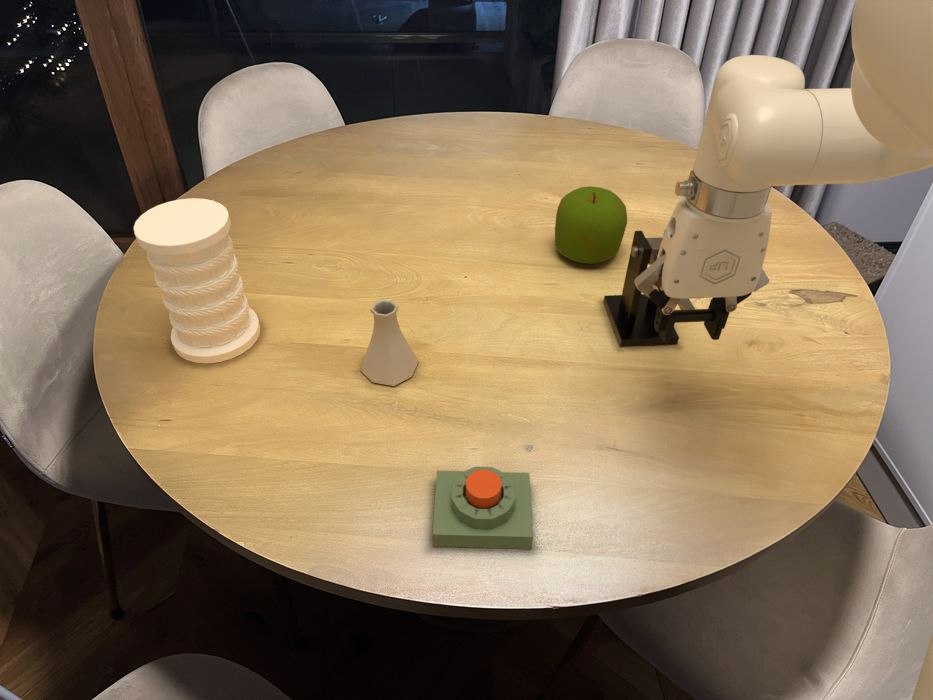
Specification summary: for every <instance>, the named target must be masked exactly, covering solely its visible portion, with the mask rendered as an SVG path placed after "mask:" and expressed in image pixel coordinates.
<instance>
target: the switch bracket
mask: <svg viewBox="0 0 933 700" xmlns="http://www.w3.org/2000/svg"><path fill="white" fill-rule="evenodd" d="M664 233H665V230H664V231H663V236H664ZM663 236H662V237H663ZM646 238H647V237H646V236H645V234H644V231H643V230H634V233H633V238H632V243H631V247H630V251H629V252H630V253H629V257H628V263H627V267H626V272H625V278H624V282H623V287H622V291H621V294H613V295H611V294H610V295H609V294H608V295H604V296H603V304H604V308H605V310H606V313H607V316H608V319H609V321H610V324H611V326H612V329H613V332H614V334H615V337H616V339H617V342H618V346H619V347H644V346H665V345H666V346H667V345H677V344H678V343H679V339H680V337H679V334H678V333H677V330H676V328H675V327H674V328H673V332H672V335H671V339H670V341H669V342H663V341H662V338H661V336H660V334H659V332H656V330H655V328H654V320H655V316H656V312H657V308H658V306H657V305H656V304H655V303H654V302H653V301H651V299H650V298H649V297H648V296H646V295H644V294H643V293H642V292H640V291H639V290H638V289H637V287H636V285H635V282H634V280H635V279H636V278H637V277H638V276H639V275H640V274H641V273H642V272H644V271H645V270H646V269H647V268H648V267H649V266H648V265H649V264H648V262H649V258H650V253H651V247H650V245H649V243H648V241H647V239H646ZM654 284H655V285H656V286H657V287H658V288H659V289H660V288H661V286H662V277H660V278H659V279H658V280H657V281H656V282H655V283H654Z"/></svg>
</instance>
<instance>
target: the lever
mask: <svg viewBox="0 0 933 700" xmlns="http://www.w3.org/2000/svg"><path fill="white" fill-rule="evenodd" d="M645 238H646V239H647V241H648V243H649V245H650V247H651V253H650V258H649V262H648V265H649V266H650V265H652V264H653V263H654V262H655V261H656V260H657V256H658V252H659V249H660V245H661V242H662V239H663V236H662V237H661V236H660V237H645ZM677 306H678V307H679V309H674V312H675V314H676V321H675V324H679V323H681V324H682V323H701V322H702V323H704V322H706V321H714V319H715V311H714V309H708V308H695V306H694V304H693V303H692V301H691V299H681V300H680V301H679V303H678V304H677Z"/></svg>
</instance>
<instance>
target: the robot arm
mask: <svg viewBox="0 0 933 700" xmlns="http://www.w3.org/2000/svg"><path fill="white" fill-rule="evenodd" d="M850 30H851V48H852V52H853V55H854V62H853V65H852V69H851V75H850V87H849V88H845V87H844V88H843V87H841V88H840V87H839V88H838V87H837V88H836V87H835V88H805V84H806V80H805V78H806V77H805V75H804V72H803V71H802V69H800V67H799V66H798V65H796V64H795V63H793V62H792V61H791V62H790V61H789V60H786V59H783V58H780V57H776V56H770V55H763V54H747V55H739V56H735V57H732V58H731V59H728V60H726V61H725V62H724V63H723V64H722V65H721V66H720V67H719V69H718V71H717V73H716V76H715V78H714V82H713V85H712V89H711V94H710V98H709V103H708V106H707V109H706V113H705V118H704V121H703V122H704V123H703V126H702V130H701V135H700V138H699V142H698V147H697V151H696V154H695V155H696V156H695V159H694V162H693V167H692V170H690V172H689V175H688V179H687V180H684V181H677V182H676V183H675V188H674V193H675V195H676V196H677V197H680V198H679V200H678V202H677V203H676V205H675V207H674V208H673V211H672V213H671V215H670V218H669V220H668V222H667V225H666V228H665V229H664V231H665V233H664V232H663V235H664V236H662V238H663V239H662V242H661V245H660V249H659V252H658V256H657V260H656V261H655V262H654V263H653V264H652V265H649V266H647V269H646V270H645V271H644V272H642V273H641V274H640V275H639V276H638V277H637V278H636V279H635V280H634V282H635V285H636V287H637V289H638V290H639V291H640V292H642V293H641V294H644V295H646V296H648V297H649V298H650V299H651V301H653V302H654V303H655V304H656V305H657V306H658V308H657V312H656V316H655V320H654V328H655V330H656V332H659V334H660V336H661V338H662V341H663V342H669V341H670V339H671V335H672V332H673V328H675V324H676V323H675V321H676V314H675V312H674V310H676V308H677V306H678V303H679V301H680V300H681V299H690V300H691V299H710V301H709V305H708V308H707V309H714V311H715V319H714V321H706V322H703V326H704V327H705V330H706V331H707V333H708V335H709V337H710V339H711V340H713V341H719V340H720V337H721V334H722V332H723V330H724V329H725V328H726V325H727V322H728V319H729V316H730V313H733V312H735V311H736V310H737V308H738V305H739V304H741V303H743V301H745V300H746V299H748V298H749V297H750V296H752V293H753V292H754V293H755V292H757V291H759V290H760V289H762V288H764V287H765V286H767V285H768V284H769V283H770V278H769V277H768V275H767V274H766V272H765V270H764V269H763V267H764V263H765V258H766V254H767V250H768V245H769V240H770V233H771V225H772V215H773V214H772V212H773V211H772V208H771V206H770V205H769V204H768V203H767V202H768V200H769V196H770V193H771V190H772V187H792V186H793V187H794V186H813V185H816V186H817V185H855V184H865V183H872V182H878V181H883V180H887V179H891V178H894V177H899V176H903V175H907V174H909V173H915V172H918V171H921V170H925V169H928V168H931V167H933V0H855V2H854V6H853V10H852V19H851V26H850ZM660 277H662V286H661V288H660V289H659V288H658V287H657V286H656V285H655V284H654V283H655V282H656V281H657V280H658V279H659V278H660ZM911 700H933V633H932V635H931V637H930V640H929V643H928V646H927V649H926V653H925V655H924V659H923V662H922V666H921V668H920V671H919V675H918V678H917V681H916V684H915V687H914V691H913V693H912V696H911Z"/></svg>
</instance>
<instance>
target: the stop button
mask: <svg viewBox="0 0 933 700" xmlns="http://www.w3.org/2000/svg"><path fill="white" fill-rule="evenodd" d="M501 485H502V484H501V480H500V478H499V476H498V475H497V474H495V473H494V472H492V471H489V470H477V471H475V472H473V473H471V474H470V475H469V476H468V478H467V480H466V498H467V500H468V501H469V503H470V504H472V505H473V506H475V507H477V508H490V507H492V506H494V505H496V504H497V503H498V501H499V500H500V497H501Z"/></svg>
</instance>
